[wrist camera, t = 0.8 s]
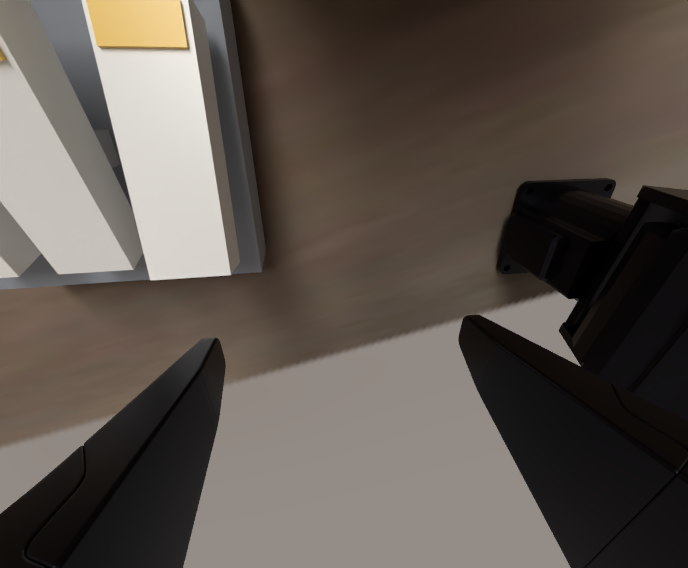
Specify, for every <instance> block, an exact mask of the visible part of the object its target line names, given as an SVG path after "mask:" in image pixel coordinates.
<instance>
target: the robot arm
mask: <svg viewBox="0 0 688 568" xmlns="http://www.w3.org/2000/svg"><path fill="white" fill-rule="evenodd" d="M606 185H607V186H606ZM615 186H616V182H615V180H612V179H608V178H598V179H571V180H544V181H527V182H524V183H523V184H522V185H521V186H520V188H519V191H518V194H517V198H516V201H515V205H514V209H513V212H512V216H511V218H510V221H509V225H508V229H507V232H506V236H505V239H504V243H503V246H502V251H501V255H500V258H499V262H498V265H497V269H498V271H500V272H501V273H502V274H513V273H527V272H530V273H531V274H533V275H534V276H535V277H537V278H538V279H539V280H543V281H545V282H546V283H548V284H549V285H550V286H552V287H553V288H554V289H556V290H557V291H558V292H560V293H561V294H562V295H564V296H565V297H567V298H568V299H575V300H577V301H578V302H577V304H576V306H575V307H574V309H573V311H572V312H571V314H570V315H569V317H568V319H567V321H566V322H564V323H563V324H562V325H561V327H560V329H559V332H560V333H561V335H562V336H563V338H564V340H565V341H566V343H567V345H568V346H569V348H570V349H571V350H572V352H573V354H574V356H575V357H576V359H577V360H578V362H579V363H580V365H581V367H580V366H578V365H576V364H574V363H572V362H570V361H568V360H566V359H564V358H563V357H561V356H558V355H557V354H555V353H553V352H551V351H549V350H547V349H545V348H543V347H541V346H539V345H537V344H535V343H533V342H531V341H529V340H527V339H525V338H523V337H521V336H520V335H518V334H516V333H514V332H512V331H510V330H508V329H506V328H504V327H502V326H500V325H498V324H496V323H494V322H492V321H490V320H488V319H486V318H484V317H482V316H480V315H468V316H465V317H464V318H463V321H462V325H461V330H460V334H459V345H460V348H461V350H462V353H463V356H464V358H465V360H466V363H467V366H468V368H469V371H470V373H471V376H472V378H473V380H474V383H475V386H476V388H477V390H478V392H479V394H480V396H481V398H482V400H483V402H484V404H485V406H486V408H487V410H488V411H489V414H490V415H491V417H492V419H493V421H494V423H495V425H496V426H497V429H498V430H499V432H500V434H501V436H502V438H503V440H504V442H505V444H506V446H507V447H508V449H509V451H510V453H511V455H512V457H513V459H514V461H515V463H516V465H517V467H518V468H519V470H520V472H521V474H522V476H523V478H524V480H525V482H526V484H527V486H528V487H529V489H530V491H531V493H532V495H533V497H534V499H535V501H536V503H537V504H538V506H539V508H540V510H541V512H542V514H543V516H544V518H545V520H546V522H547V523H548V525H549V527H550V529H551V531H552V533H553V535H554V537H555V539H556V540H557V542H558V544H559V546H560V548H561V550H562V552H563V554H564V556H565V557H566V559H567V561H568V563H569V565H570V567H571V568H688V190H682V189H672V188H663V187H654V186H644V185H643V187H642V188H641V190H640V192H639V194H638V195H637V197H638V200H637V202H636V203H635V205H634V206H633V205H630V204H626V203H623V202H620V201H617V200H614V199H611V196H612V193H613V191H614V189H615ZM529 187H530V190H529V191H528V192H527V193H526V191H527V189H528V188H529ZM605 187H606V188H605ZM506 265H507V266H506ZM505 266H506V267H505ZM504 267H505V268H504ZM224 376H225V358H224V354H223V351H222V347H221V344H220V341H219V339H218V338H205V339H201V340H200V341H199V342H198V343H197V344H195V345H194V346H193V347H192V348H191V349H190V350H189V351H188V352H186V353H185V354H184V355H183V356H182V357H181V358H180V359H179V360H177V361H176V362H175V363H174V364H173V365H172V366H171V367H169V368H168V369H167V370H166V371H165V372H164V373H163V374H162V375H160V376H159V377H158V378H157V379H156V380H155V381H154V382H153V383H151V384H150V385H149V386H148V387H147V388H146V389H145V390H144V391H142V392H141V393H140V394H139V395H138V396H137V397H136V398H135V399H133V400H132V401H131V402H130V403H129V404H128V405H127V406H125V407H124V408H123V409H122V410H121V411H120V412H119V413H118V414H116V415H115V416H114V417H113V418H112V419H111V420H110V421H109V422H107V423H106V424H105V425H104V426H103V427H102V428H101V429H100V430H98V431H97V432H96V433H95V434H94V435H93V436H92V437H91V438H89V439H88V440H87V441H86V442H85V443H84V446H80V447H79V448H78V449H77V450H76V451H75V452H73V453H72V454H71V455H70V456H69V457H68V458H67V459H66V460H64V461H63V462H62V463H61V464H60V465H59V466H57V467H56V468H55V469H54V470H53V471H52V472H50V473H49V474H48V475H47V476H46V477H45V478H43V479H42V480H41V481H40V482H39V483H38V484H36V485H35V486H34V487H33V488H32V489H31V490H29V491H28V492H27V493H26V494H24V495H23V496H22V497H21V498H19V499H18V500H17V501H16V502H14V503H13V504H12V505H11V506H10V507H8V508H7V509H6V510H5V511H3V512H2V513H1V514H0V568H183V565H184V561H185V557H186V553H187V549H188V544H189V541H190V537H191V533H192V528H193V524H194V520H195V516H196V512H197V508H198V504H199V500H200V496H201V492H202V488H203V484H204V480H205V476H206V471H207V468H208V463H209V459H210V455H211V451H212V447H213V443H214V439H215V435H216V431H217V427H218V421H219V415H220V408H221V399H222V391H223V384H224Z"/></svg>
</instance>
